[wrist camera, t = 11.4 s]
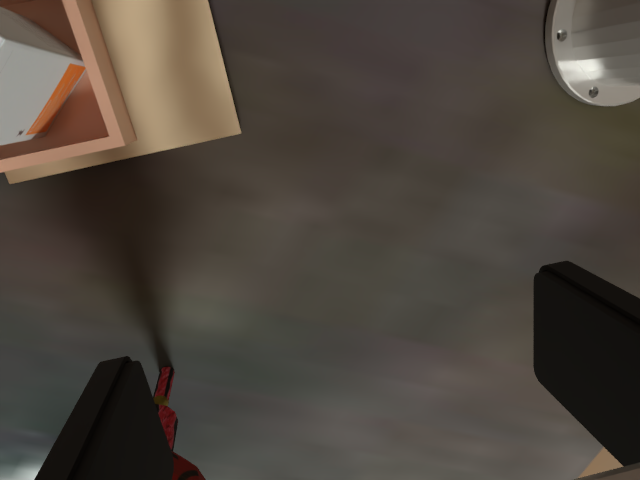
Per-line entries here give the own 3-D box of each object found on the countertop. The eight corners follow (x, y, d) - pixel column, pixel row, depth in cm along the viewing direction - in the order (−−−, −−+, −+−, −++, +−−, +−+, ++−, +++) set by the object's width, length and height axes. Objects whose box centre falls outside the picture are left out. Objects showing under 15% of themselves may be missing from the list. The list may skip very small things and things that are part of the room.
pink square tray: (85, -19, 28) (63, -37, 24) (137, 140, 31) (125, 145, 28) (-85, 10, 27) (-134, -3, 23) (-12, 172, 30) (-45, 182, 26)
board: (194, -52, 29) (193, -58, 28) (241, 132, 33) (241, 133, 32) (-64, -8, 28) (-76, -12, 27) (17, 181, 32) (9, 184, 30)
